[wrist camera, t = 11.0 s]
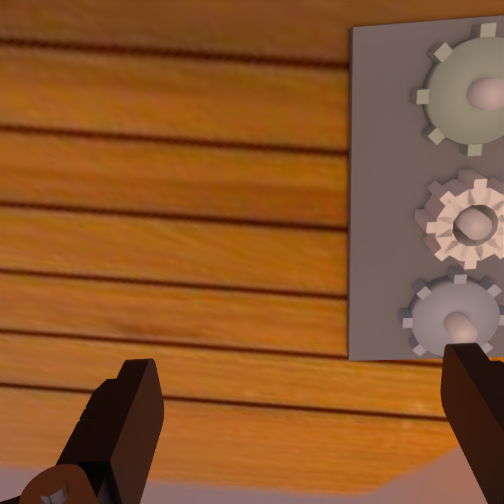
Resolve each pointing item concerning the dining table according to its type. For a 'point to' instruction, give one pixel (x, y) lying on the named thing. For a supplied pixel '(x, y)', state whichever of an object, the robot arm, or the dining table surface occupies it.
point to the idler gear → (449, 206)
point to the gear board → (421, 185)
